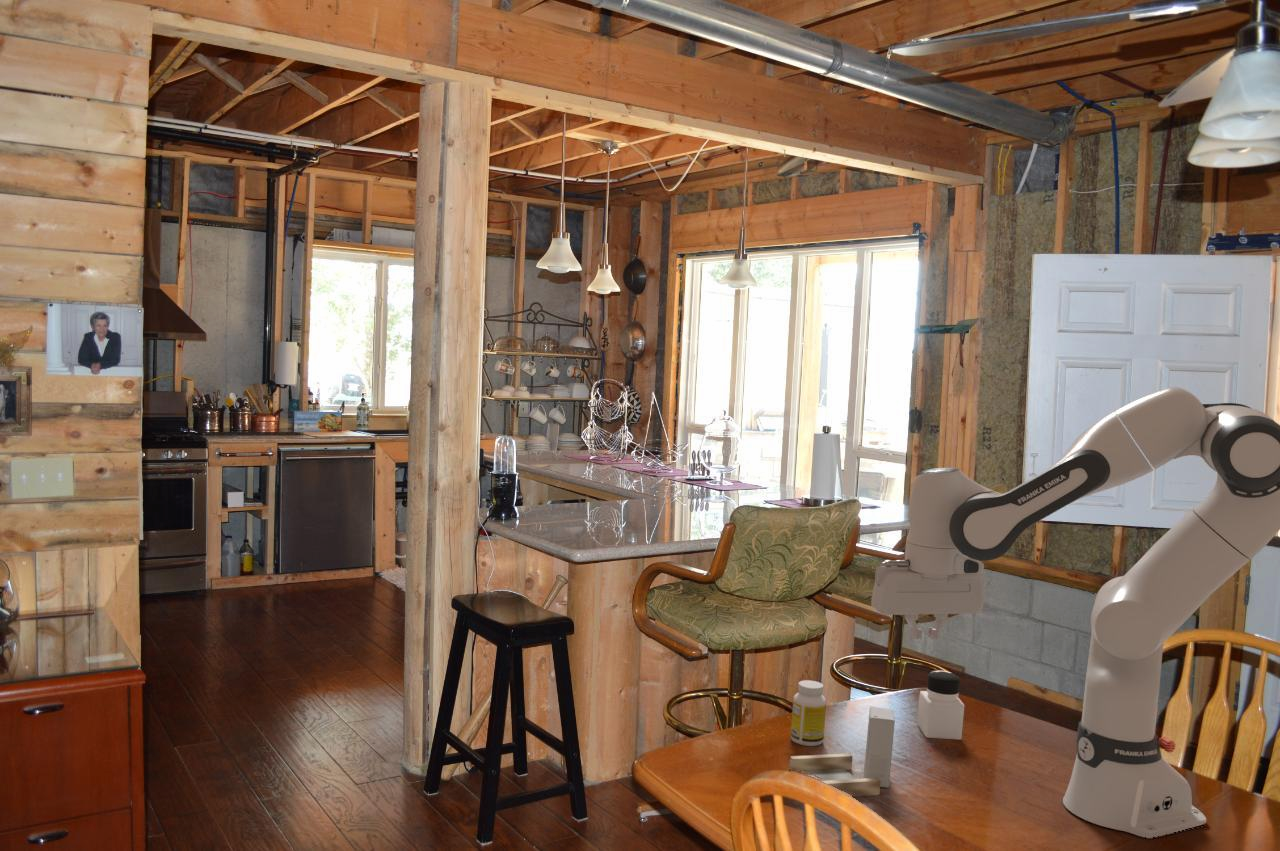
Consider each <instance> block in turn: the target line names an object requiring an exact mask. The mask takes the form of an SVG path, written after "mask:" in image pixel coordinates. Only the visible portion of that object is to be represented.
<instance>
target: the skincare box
mask: <svg viewBox="0 0 1280 851" xmlns="http://www.w3.org/2000/svg"><path fill="white" fill-rule="evenodd" d="M868 712H869V713H868V714H869V715H868V722H867V723H868V724H867V734H866V735H867V736H866V745H865V746H866V747H865V757H864V758H865V759H864V767H863V768H864V770H863V776H864V778H878V779H879V780H881V782H880V788H887V789H888V788H889V787H890V780H891V779H890V778H891V766H892V758H893V757H892V754H893V747H894V734H895V722H896V719H895V718H896V717H895V715H894V714H895V713H894V709H891V708H884V707H877V706H870V707H869V711H868Z"/></svg>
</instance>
